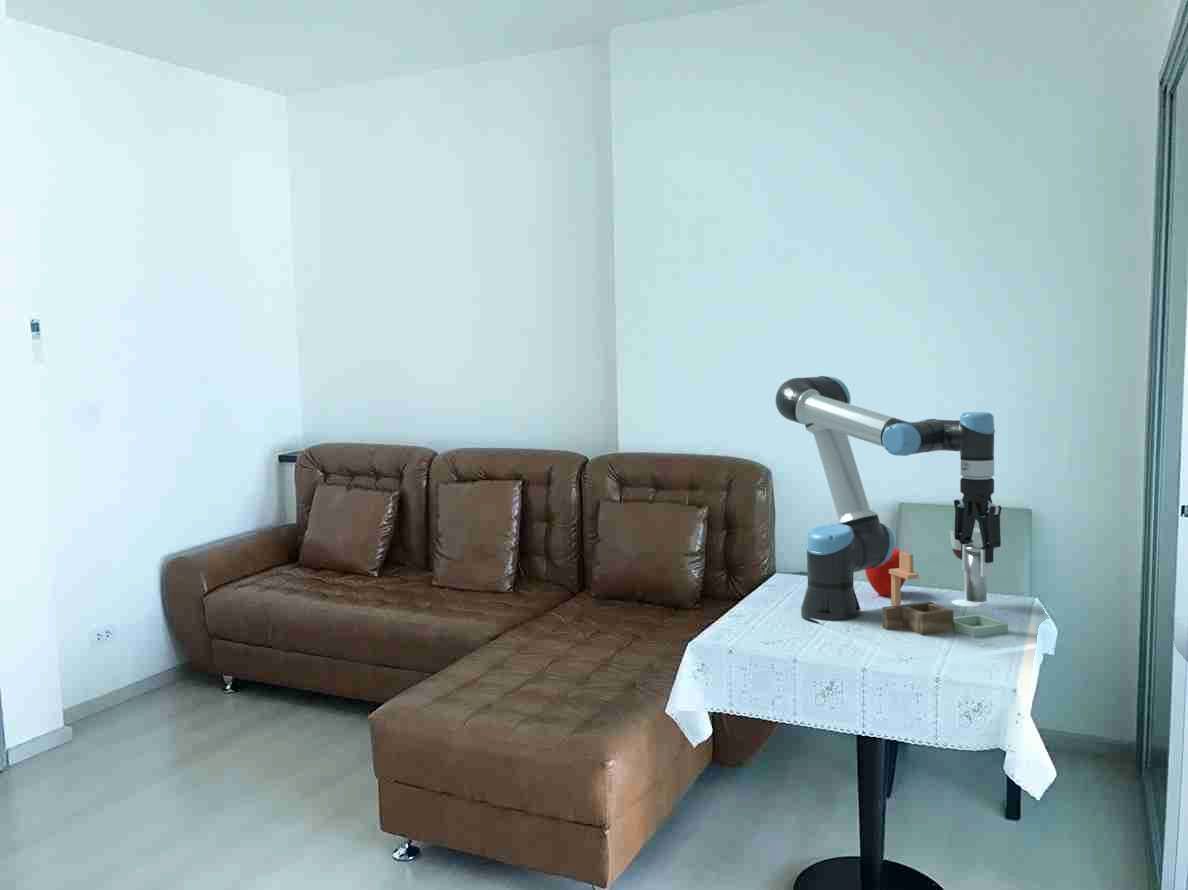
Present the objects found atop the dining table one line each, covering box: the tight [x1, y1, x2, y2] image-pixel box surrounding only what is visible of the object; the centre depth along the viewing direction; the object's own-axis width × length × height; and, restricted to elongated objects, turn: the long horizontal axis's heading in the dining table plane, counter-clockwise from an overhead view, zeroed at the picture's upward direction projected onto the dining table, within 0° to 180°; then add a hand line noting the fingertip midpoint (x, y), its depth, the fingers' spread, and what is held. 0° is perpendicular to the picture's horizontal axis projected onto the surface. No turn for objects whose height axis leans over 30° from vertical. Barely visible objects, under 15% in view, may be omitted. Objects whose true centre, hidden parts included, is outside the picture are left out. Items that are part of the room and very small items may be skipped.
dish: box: [953, 613, 1009, 639], centre depth 236 cm, size 10×10×3 cm
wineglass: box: [950, 527, 983, 607], centre depth 263 cm, size 8×9×20 cm
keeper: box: [889, 551, 920, 607], centre depth 236 cm, size 7×3×13 cm, turn 20°
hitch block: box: [882, 600, 954, 636], centre depth 237 cm, size 9×14×6 cm, turn 110°
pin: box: [964, 544, 988, 603], centre depth 234 cm, size 6×6×13 cm
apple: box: [864, 548, 907, 597], centre depth 275 cm, size 12×12×13 cm
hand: (976, 572), depth 234 cm, fingers closed on pin, 6 cm apart
